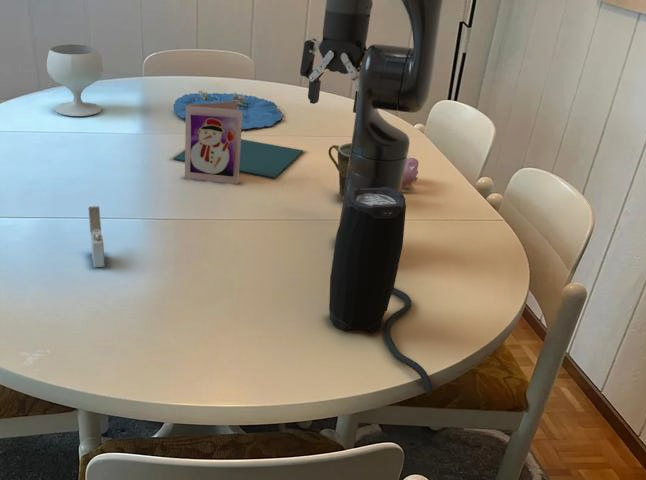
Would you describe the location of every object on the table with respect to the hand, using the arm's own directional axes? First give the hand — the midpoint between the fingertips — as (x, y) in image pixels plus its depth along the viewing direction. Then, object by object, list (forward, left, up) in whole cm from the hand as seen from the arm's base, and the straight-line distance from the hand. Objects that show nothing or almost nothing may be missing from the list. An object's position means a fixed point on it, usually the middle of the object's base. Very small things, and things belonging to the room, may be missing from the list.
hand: (335, 107), depth 128 cm
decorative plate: (+52, +41, -20) cm, 69 cm away
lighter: (-37, +28, -20) cm, 51 cm away
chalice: (+33, +76, -20) cm, 85 cm away
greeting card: (+7, +26, -20) cm, 34 cm away
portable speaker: (-37, -16, -20) cm, 45 cm away
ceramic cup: (+10, -3, -20) cm, 23 cm away
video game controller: (+22, -11, -20) cm, 32 cm away
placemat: (+22, +26, -20) cm, 39 cm away
